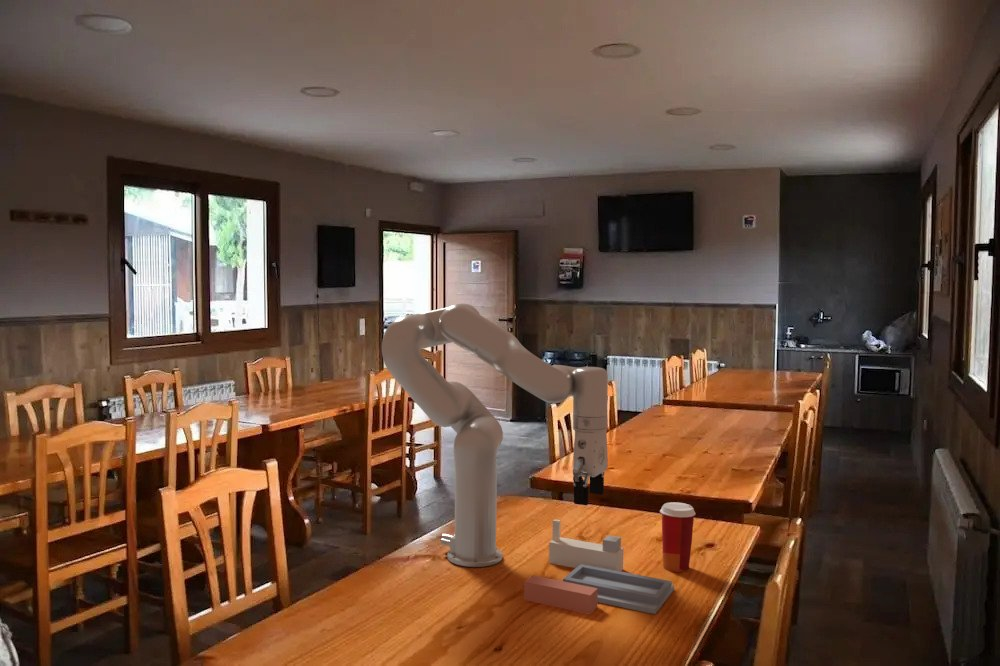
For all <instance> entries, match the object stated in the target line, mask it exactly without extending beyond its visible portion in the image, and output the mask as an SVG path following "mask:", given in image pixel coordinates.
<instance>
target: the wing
mask: <svg viewBox="0 0 1000 666" xmlns="http://www.w3.org/2000/svg"><path fill="white" fill-rule="evenodd" d="M523 588H524V593H523V596H524V597H523V600H524V601H529V602H533V603H537V604H540V605H541V604H542V605H545V606H550V607H555V608H560V609H565V610H569V611H574V612H578V613H582V614H587V615H591V614H592V613H593V612H594V611H595V610H596V609H597V608H598V602H597V598H598V588H594V587H589V586H584V585H579V584H574V583H569V582H564V581H563V580H559V579H553V578H548V577H545V576H538V575H531V576H530V577H528V578H527V579H526V580H524V587H523Z"/></svg>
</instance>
